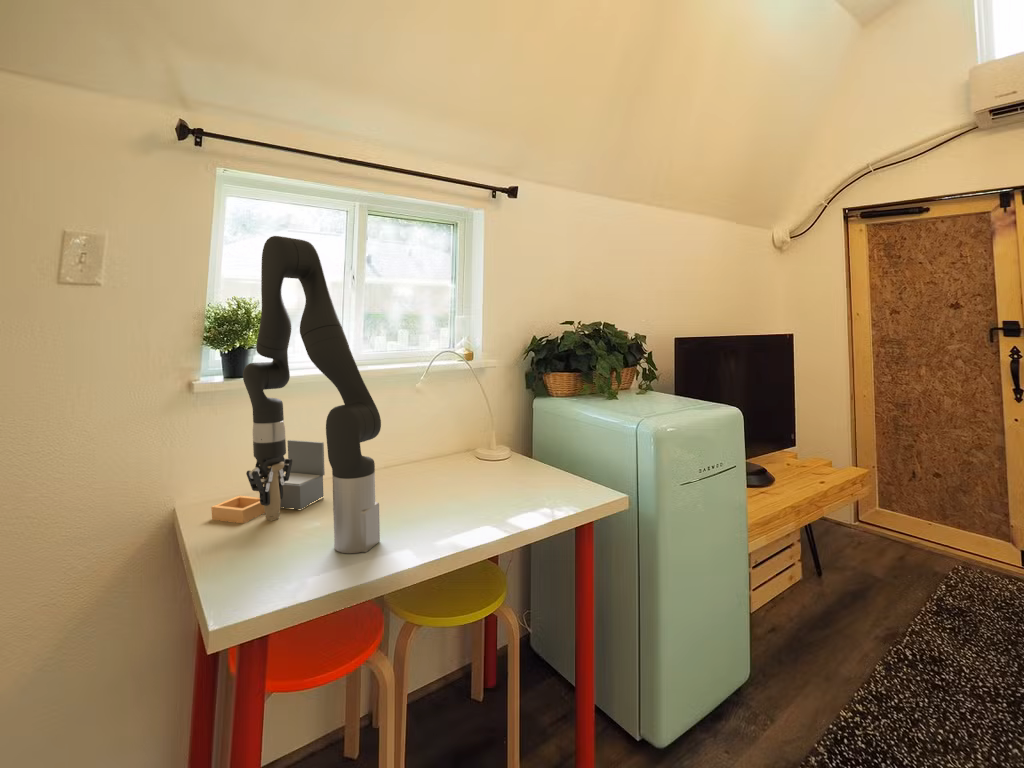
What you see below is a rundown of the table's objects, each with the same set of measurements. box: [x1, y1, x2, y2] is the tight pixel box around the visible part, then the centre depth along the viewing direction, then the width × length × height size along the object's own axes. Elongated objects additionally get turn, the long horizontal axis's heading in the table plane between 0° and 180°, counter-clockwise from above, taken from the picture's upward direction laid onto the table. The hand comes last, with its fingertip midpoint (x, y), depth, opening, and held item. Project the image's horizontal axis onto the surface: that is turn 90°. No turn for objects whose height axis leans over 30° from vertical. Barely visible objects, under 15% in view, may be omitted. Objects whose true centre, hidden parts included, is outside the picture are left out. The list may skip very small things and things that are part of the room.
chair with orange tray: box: [210, 439, 325, 524], centre depth 126 cm, size 18×22×17 cm
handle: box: [263, 461, 284, 522], centre depth 119 cm, size 5×6×15 cm
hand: (272, 501), depth 119 cm, fingers closed on handle, 4 cm apart
